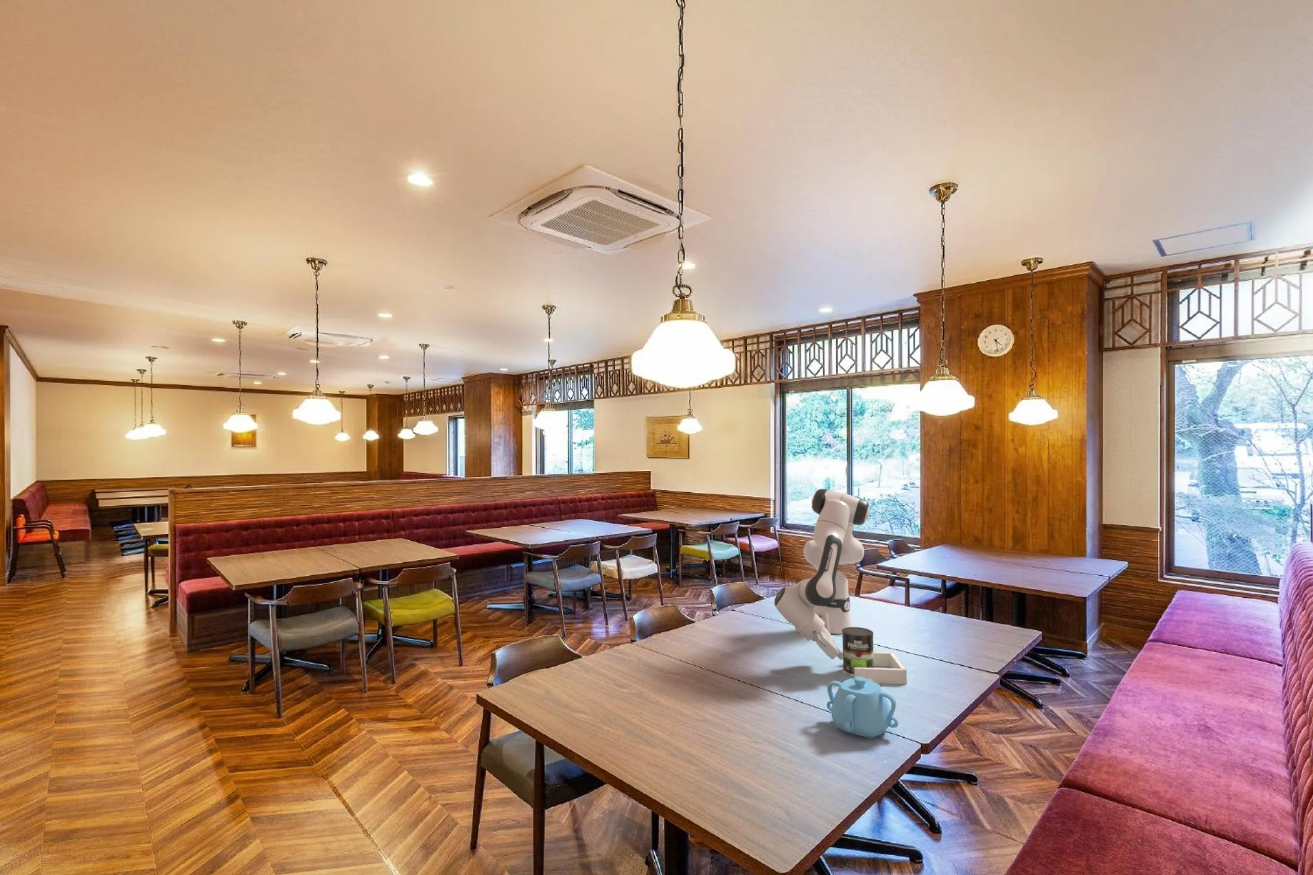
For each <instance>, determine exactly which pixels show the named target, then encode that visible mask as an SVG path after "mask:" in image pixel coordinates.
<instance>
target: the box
mask: <svg viewBox="0 0 1313 875" xmlns="http://www.w3.org/2000/svg"><path fill="white" fill-rule="evenodd" d="M873 655H874V668H860V667H854V677H853V678H855V677H862V678H865V679H872V680H873V681H874V682H875V683H877V684H888V685H889V684H891V685H895V684H896V685H907V684H908V678H907V675H908V673H907V668H905V667H904V665H903V664H902V662H900V660H899V659H898V657H897V656H896V655H895V654H894V652H892V651H891V652H890V651H889V652H888V651H873ZM875 666H876V667H875ZM882 667H883V668H882ZM886 667H889V668H886Z"/></svg>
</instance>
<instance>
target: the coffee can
mask: <svg viewBox="0 0 1313 875" xmlns="http://www.w3.org/2000/svg"><path fill="white" fill-rule="evenodd" d="M841 635H842V653H843V655H844V658H843V659H842V666H843V668H842V671H843V673H844V674H846V675H847V676H850V677H853V678H855V677H854V667H860V668H875V666H874V655H873V652H874V631H872V630H871V629H868V628H866V627H859V626H858V627H857V626H853V627H847V628H844V629H842V634H841Z"/></svg>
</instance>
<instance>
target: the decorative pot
mask: <svg viewBox="0 0 1313 875" xmlns="http://www.w3.org/2000/svg"><path fill="white" fill-rule="evenodd" d="M833 686H837V687H838V689H837V690H836V693H835V694H834V692H833ZM826 689H827V694H828V697H829V700H828V701H827V703H826V708H827V709H828V711H829V712H831V719H832V721H833V723H834V724H835V726H836V727H837V728H838V729H840V731H842V732H844V731H846V732H845V733H849V734H853V735H856V736H860V737H864V736H865V737H864V738H866V739H868V738H873V739H875V738H874V737H877V736H880V735H882V734H884V733H885V732H886V731H887V730H888V729H889V728H892V729H894V728H897V727H898V726H899V719H897V718H896V717H894V714H895V711H896V708H897V703H896V699H895V697H894V696H893V695H891V694H890V693H888V692H885V691H884V690H883V688H882V687H881V685H880V683H875V682H874V681H873V680H872V679H865V678H862V677H853V678H849V679H846V680H844V681H843V682H842V681H841V682H840V681H839V680H834V681H830V682H829V683H828V684H827V688H826ZM889 701H890V704H891V706H890V704H889ZM892 721H893V722H892Z"/></svg>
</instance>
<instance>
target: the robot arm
mask: <svg viewBox="0 0 1313 875" xmlns="http://www.w3.org/2000/svg"><path fill="white" fill-rule="evenodd" d="M811 509H812V511H813V512H814V513H816V514H817V515H818V518H817V520H816V522H815V525H814V530H813V536H812V538H813V539H811V540H807V541H806V543H805V544H804V546H803V550H802V551H803V552H802V553H803V556H804V559H805V560H806V561H807V563H809V564H811V565H812V567H814V569H815V570H816V573H815V574H814V575H813V576H812V577H809V578H805V579H803V580H800V581H798V582H797V583H796V584H792V585H791V586H786V587H785V586H784V587H783V588H781V589H780V590H779V591H778V593H777V594H776V595H775V598H774V607H775V609H776V610H777V611H778V612H779V613H780V615H781V616H782V617H783V618H784V619H785V620H786V621H787V622H788V623H789V624H791V625H792V626H794V628H795V629H796V631H797V632H798V633H799V634H800V635H801V636H802V637H803V638H804V639H805V640H806V641H812V642H815V643H816V645H817V646H818V648H820V650H822V651H823V653H825V655H826V656H828V657H829V658H830V659H831V660H834V659H835V658H836V657H837V658H838V659H839V660H840V661H843V658H844V655H843V651H841V650H840V649H839V648H838V646H837V644H836V643H835V639H834V638H833V636H832V634H833V635H834V634H835V635H840V634H841V635H842V629H844V628H847V627H854V626H853V623H852V618H851V612H850V608H851V600H850V598H851V597H850V596H849V580H848V578H847V576H845V575H844V574H843V573H841V572H839V571H838V568H839V565H851V564H855V563H860V562H861V561H862V560H863V558H864V557H865V556H864V555H865V549H864V545H863V544H862V542H861V541H860V540H858V539H857V538H856V537H854V535H853V529H854V526H862V525H864V524H865V522H866V521H867V520H868V519H869V516H870V510H871V509H870V504H869V502H868V501H867V500H865V499H863V498H861V497H860V498H859V497H856V496H854V495H852V494H848V493H843V492H840V491H835V490H829V489H826V488H819V489H817V490H816V491H815V493H814V494H813V495H812V498H811Z"/></svg>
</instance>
